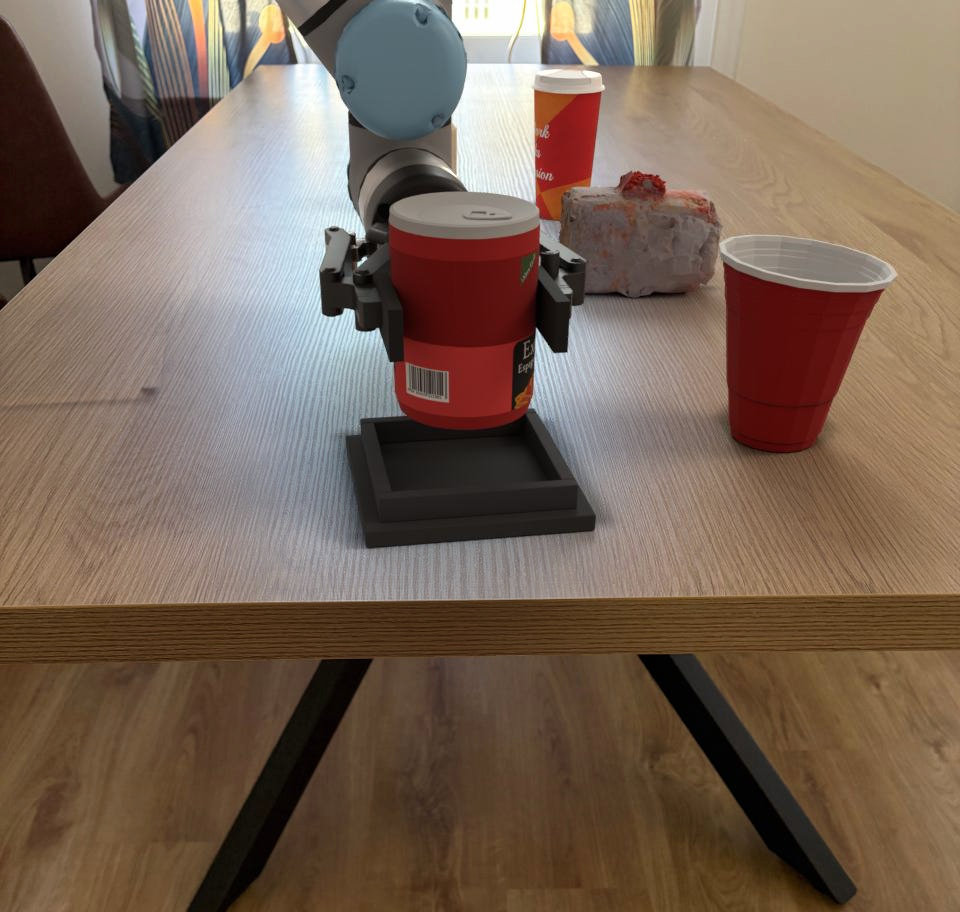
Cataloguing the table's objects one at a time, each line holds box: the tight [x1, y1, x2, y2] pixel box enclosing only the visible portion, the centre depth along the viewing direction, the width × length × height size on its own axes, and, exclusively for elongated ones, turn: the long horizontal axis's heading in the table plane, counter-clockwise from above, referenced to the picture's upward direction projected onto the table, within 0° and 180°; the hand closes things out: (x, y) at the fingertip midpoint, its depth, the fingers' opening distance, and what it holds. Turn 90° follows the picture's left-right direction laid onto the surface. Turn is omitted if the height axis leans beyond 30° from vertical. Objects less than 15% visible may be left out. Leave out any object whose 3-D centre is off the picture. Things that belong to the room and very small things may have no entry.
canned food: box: [389, 191, 541, 430], centre depth 62 cm, size 8×8×11 cm
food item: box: [558, 170, 724, 299], centre depth 99 cm, size 14×8×10 cm, turn 95°
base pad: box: [345, 407, 597, 548], centre depth 67 cm, size 13×13×2 cm
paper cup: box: [530, 68, 606, 221], centre depth 120 cm, size 8×8×14 cm
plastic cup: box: [718, 234, 899, 453], centre depth 71 cm, size 11×11×12 cm
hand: (480, 331), depth 57 cm, fingers closed on canned food, 8 cm apart
